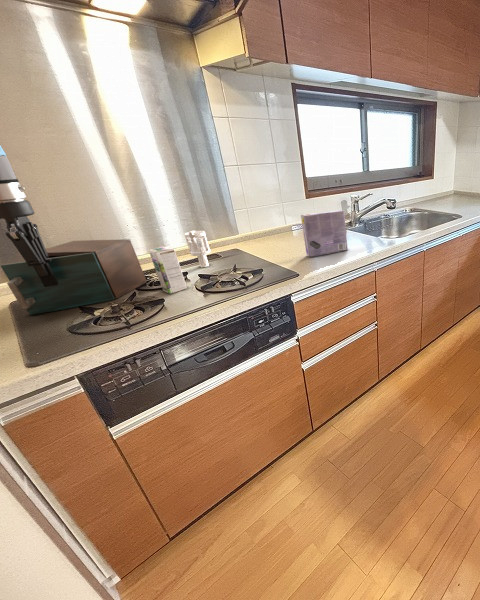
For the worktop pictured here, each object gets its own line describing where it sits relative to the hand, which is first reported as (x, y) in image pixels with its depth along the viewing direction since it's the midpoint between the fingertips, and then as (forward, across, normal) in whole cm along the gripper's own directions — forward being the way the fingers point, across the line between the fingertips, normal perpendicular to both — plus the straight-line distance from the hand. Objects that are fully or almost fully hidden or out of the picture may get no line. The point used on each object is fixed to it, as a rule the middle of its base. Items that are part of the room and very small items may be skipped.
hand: (51, 285), depth 93 cm
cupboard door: (+9, +1, -1) cm, 9 cm away
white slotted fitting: (+9, +23, -38) cm, 45 cm away
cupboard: (+9, +15, -7) cm, 19 cm away
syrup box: (+9, +1, -28) cm, 30 cm away
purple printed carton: (+9, +10, -87) cm, 88 cm away
